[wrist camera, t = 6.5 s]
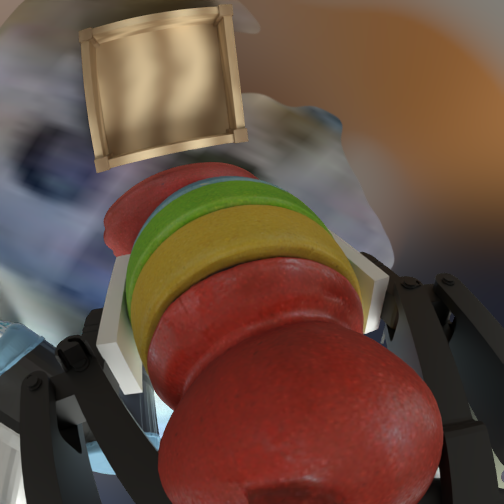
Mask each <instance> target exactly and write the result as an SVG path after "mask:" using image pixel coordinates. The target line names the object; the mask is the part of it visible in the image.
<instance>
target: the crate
mask: <svg viewBox="0 0 504 504" xmlns="http://www.w3.org/2000/svg"><path fill="white" fill-rule="evenodd" d="M232 16H233V9H232V4H225V5H218V7H203V8H192V9H183V10H175V11H168V12H162V13H156V14H150V15H145V16H140V17H135V18H130V19H126V20H122V21H118V22H114V23H110V24H106V25H103V26H99V27H96V28H92V27H90V28H87V29H84V30H81V31H79V42H80V43H81V55H82V69H83V80H84V89H85V98H86V105H87V113H88V119H89V126H90V132H91V137H92V143H93V148H94V154H95V160H94V162H95V166H96V171H97V173H99V172H103V171H106V170H110V169H111V168H113V167H116V166H120V165H124V164H128V163H132V162H136V161H140V160H144V159H148V158H152V157H157V156H161V155H166V154H171V153H175V152H180V151H185V150H191V149H196V148H201V147H207V146H213V145H219V144H225V143H232V142H233V143H240V142H247V141H248V134H247V128H245V123H244V114H243V105H242V97H241V89H240V80H239V72H238V63H237V55H236V47H235V39H234V31H233V23H232Z"/></svg>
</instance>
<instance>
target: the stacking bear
mask: <svg viewBox="0 0 504 504" xmlns="http://www.w3.org/2000/svg"><path fill="white" fill-rule="evenodd" d="M104 226H105V231H104V241H105V243H106V245H107V246H108V247H109V248H111V249H112V250H113V253H114V255H115V256H116V257H118V256H123V255H128V254H130V259H129V262H128V266H127V273H126V302H127V310H128V316H129V320H130V323H131V327H132V330H133V335H134V340H135V343H136V346H137V350H138V353H139V356H140V358H141V361H142V363H143V366H144V368H145V370H146V372H147V374H148V375H149V378H150V381H151V383H152V386H153V388H154V390H155V392H156V393H157V395H158V396H159V397H160V399H161V400H162V401H163V402H164V403H165V404H167V405H168V406H169V407H170V408H171V409H172V410H174V412H173V413H172V415H171V417H170V420H169V422H168V424H167V426H166V428H165V431H164V433H163V436H162V439H161V442H160V446H159V450H158V453H159V455H158V472H159V476H160V480H161V483H162V486H163V488H164V491H165V493H166V494H167V496H168V498H169V499H170V501H171V502H172V504H417V503H418V502H419V501H420V500H421V499H422V497H423V496H424V495H425V493H426V492H427V490H428V488H429V486H430V485H431V483H432V481H433V479H434V476H435V474H436V472H437V469H438V465H439V462H440V459H441V453H442V447H443V426H442V418H441V414H440V411H439V408H438V405H437V402H436V400H435V398H434V396H433V394H432V392H431V390H430V389H429V387H428V386H427V384H426V383H425V382H424V381H423V380H422V379H421V377H420V376H419V375H418V374H417V373H416V372H415V370H414V369H412V368H411V367H410V366H409V365H408V364H407V363H405V362H404V361H403V360H402V359H400V358H399V357H398V356H397V355H395V354H394V353H392V352H391V351H389V350H388V349H386V348H385V347H383V346H382V345H380V344H379V343H377V342H376V341H374V340H372V339H370V338H368V337H367V336H365V335H363V324H364V315H363V309H362V295H361V290H360V285H359V282H358V279H357V277H356V274H355V272H354V270H353V268H352V266H351V264H350V262H349V260H348V259H347V257H346V255H345V254H344V252H343V250H342V249H341V248H340V246H339V245H338V244H337V242H336V241H335V239H334V238H333V236H332V234H331V233H330V231H329V230H328V229H327V227H326V226H325V225H324V223H323V222H322V221H321V220H320V219H319V218H318V216H317V215H316V214H315V213H314V212H313V211H312V210H311V209H310V208H308V207H307V206H306V205H305V204H304V203H303V202H302V201H300V200H299V199H298V198H296V197H295V196H293V195H292V194H290V193H288V192H287V191H285V190H283V189H282V188H280V187H278V186H276V185H273V184H271V183H268V182H265V181H262V180H259V179H258V178H257V177H255V176H254V175H253V174H251V173H250V172H248V171H246V170H244V169H242V168H240V167H237V166H234V165H230V164H225V163H217V162H208V163H195V164H188V165H183V166H178V167H175V168H171V169H168V170H165V171H163V172H160V173H157V174H155V175H153V176H151V177H149V178H147V179H145V180H143V181H141V182H140V183H138V184H137V185H135V186H133V187H132V188H131V189H129V190H128V191H127V192H126V193H125V194H123V195H122V196H121V197H120V198H119V199H118V200H117V201H116V202H115V203H114V204H113V205H112V206H111V207H110V208H109V210H108V211H107V213H106V215H105V218H104Z"/></svg>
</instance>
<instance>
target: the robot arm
mask: <svg viewBox="0 0 504 504" xmlns="http://www.w3.org/2000/svg"><path fill="white" fill-rule="evenodd" d="M328 230H329V229H328ZM329 231H330V230H329ZM330 233H331V234H332V236H333V238H334V239H335V241H336V242H337V244H338V245H339V246H340V248H341V249H342V250H343V252H344V254H345V255H346V257H347V259H348V260H349V262H350V264H351V266H352V268H353V270H354V272H355V274H356V277H357V279H358V282H359V285H360V290H361V295H362V309H363V315H364V324H363V333H364V334H365V333H368V332H370V331H373V330H376V329H378V326H379V323H380V319H382V320H384V322H385V327H384V331H383V335H382V338H381V343H383V341H384V339H385V338H386V343H387V348H388V350H389V351H391V352H392V353H394V354H395V355H397V356H398V357H399V358H400V359H402V360H403V361H404V362H405V363H407V364H408V365H409V366H410V367H411V368H412V369H414V370H415V372H416V373H417V374H418V375H419V376H420V377H421V379H422V380H423V381H424V382H425V383H426V384H427V386H428V387H429V389H430V390H431V392H432V394H433V396H434V398H435V400H436V402H437V405H438V408H439V411H440V414H441V418H442V426H443V447H442V453H441V459H440V462H439V465H438V469H437V472H436V474H435V476H434V479H433V481H432V483H431V485H430V486H429V488H428V490H427V492H426V493H425V495H424V496H423V497H422V499H421V500H420V501H419V502H418V503H417V504H504V489H502V488H498V481H497V475H496V469H495V463H494V458H493V452H492V449H493V451H494V453H495V454H496V456H497V457H498V459H499V460H500V462H501V463H502V464H503V465H504V328H503V327H502V326H501V325H500V324H499V323H498V321H497V320H496V319H495V318H494V317H493V316H492V315H491V313H490V312H489V311H488V310H487V309H486V308H485V307H484V306H483V304H482V303H481V302H480V301H479V300H478V299H477V298H476V297H475V296H474V295H473V294H472V293H471V292H470V291H469V290H468V288H466V287H465V285H464V284H463V283H462V282H461V281H460V280H459V279H458V278H456V277H455V276H453V275H451V274H448V273H440V274H437V276H436V277H435V281H434V284H425V285H423V284H422V283H421V282H420V281H419V280H417V279H416V278H413V277H408V276H404V277H399V276H398V275H397V274H395V273H394V272H393V271H392V270H390V269H389V268H388V267H386V266H385V265H384V264H383V263H381V262H380V261H378V260H377V259H376V258H375V257H373V256H372V255H370V254H367V253H365V252H360V253H359V252H358V251H357V250H355V249H354V248H353V247H351V246H350V245H349V244H348V243H346V242H345V241H344V240H342V239H341V238H340V237H338V236H337V235H336V234H334V233H333V232H332V231H330ZM129 259H130V254H128V255H123V256H118V257H117V258H116V261H115V265H114V268H113V272H112V276H111V280H110V283H109V287H108V291H107V295H106V300H105V304H104V308H100V309H95V310H92V311H91V312H90V314H89V315H88V316H87V318H86V321H85V325H84V328H83V334H82V336H80V335H73V336H70V337H67V338H65V339H64V340H62V341H61V342H60V343H59V344H58V345H57V347H54V346H53V345H51V344H50V343H49V342H47V341H46V340H45V338H44V337H43V336H39V335H38V334H36V333H35V332H33V331H32V330H30V329H29V328H27V327H26V326H25V325H23V324H20V323H14V324H11V325H10V326H9V327H8V328H7V329H6V331H5V332H4V333H3V335H2V336H1V337H0V504H102V503H101V500H100V496H99V493H98V490H97V487H96V483H95V480H94V476H93V472H92V471H95V472H99V473H105V474H115V475H117V477H118V479H119V480H120V481H121V483H122V485H123V486H124V488H125V489H126V491H127V492H128V493H129V495H130V496H131V498H132V499H133V501H134V502H135V503H136V504H172V502H171V501H170V499H169V498H168V496H167V494H166V493H165V491H164V488H163V486H162V483H161V480H160V476H159V472H158V455H159V453H158V450H159V441H160V436H159V431H158V424H157V416H156V408H155V399H154V389H153V386H152V383H151V381H150V378H149V375H148V374H147V372H146V370H145V368H144V366H143V363H142V361H141V358H140V356H139V353H138V350H137V346H136V343H135V340H134V335H133V330H132V327H131V323H130V320H129V316H128V310H127V302H126V273H127V266H128V262H129ZM451 312H452V313H453V315H454V316H455V317H454V320H453V322H450V320H449V317H450V315H451ZM468 403H469V404H470V406H471V408H472V410H473V412H474V413H475V416H476V417H477V419H478V421H475V420H474V419H473V418H472V415H471V412H470V408H469V404H468ZM491 447H492V448H491ZM501 479H502V481H503V482H504V471H503V472H502V475H501Z"/></svg>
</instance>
